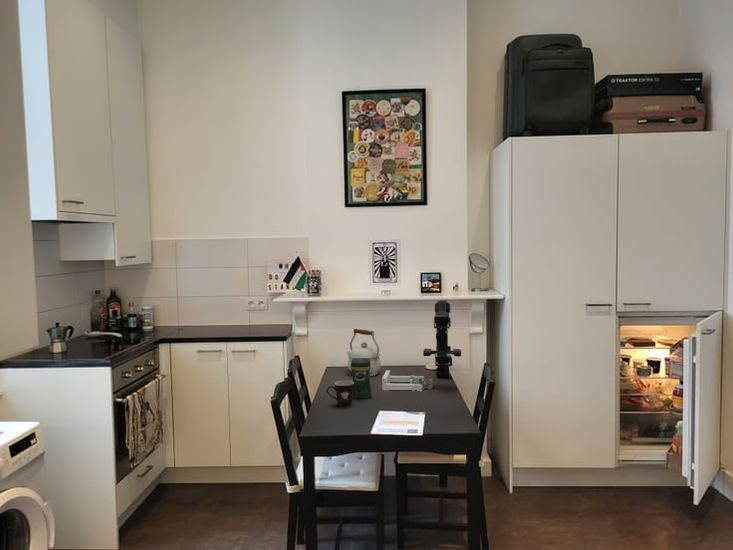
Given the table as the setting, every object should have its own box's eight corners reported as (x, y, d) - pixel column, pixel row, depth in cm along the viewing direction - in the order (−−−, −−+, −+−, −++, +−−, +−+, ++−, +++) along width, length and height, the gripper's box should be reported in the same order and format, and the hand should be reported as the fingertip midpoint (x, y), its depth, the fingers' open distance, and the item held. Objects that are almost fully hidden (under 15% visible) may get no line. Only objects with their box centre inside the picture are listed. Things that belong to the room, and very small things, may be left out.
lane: (424, 381, 279) (423, 370, 278) (422, 391, 261) (422, 379, 260) (386, 381, 282) (386, 369, 281) (382, 390, 264) (382, 378, 263)
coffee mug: (356, 402, 245) (356, 381, 244) (350, 408, 237) (349, 386, 236) (333, 400, 249) (332, 379, 248) (326, 406, 240) (325, 384, 240)
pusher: (413, 382, 276) (413, 373, 276) (412, 389, 264) (412, 379, 264) (411, 382, 276) (411, 373, 276) (409, 388, 265) (409, 379, 264)
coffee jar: (372, 394, 258) (371, 356, 257) (371, 399, 250) (370, 360, 249) (352, 394, 259) (351, 356, 258) (350, 399, 251) (349, 360, 250)
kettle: (390, 373, 298) (389, 329, 296) (367, 380, 285) (366, 334, 283) (358, 367, 315) (357, 325, 314) (335, 373, 302) (334, 329, 301)
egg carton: (417, 384, 275) (416, 376, 275) (431, 384, 275) (431, 376, 274) (418, 390, 264) (418, 381, 264) (433, 389, 264) (433, 381, 264)
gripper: (422, 341, 260) (423, 373, 261) (461, 341, 257) (461, 373, 258) (423, 337, 271) (424, 367, 272) (460, 337, 268) (461, 368, 269)
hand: (442, 369), depth 268 cm, fingers closed
